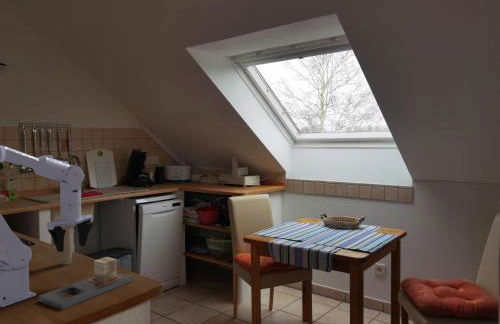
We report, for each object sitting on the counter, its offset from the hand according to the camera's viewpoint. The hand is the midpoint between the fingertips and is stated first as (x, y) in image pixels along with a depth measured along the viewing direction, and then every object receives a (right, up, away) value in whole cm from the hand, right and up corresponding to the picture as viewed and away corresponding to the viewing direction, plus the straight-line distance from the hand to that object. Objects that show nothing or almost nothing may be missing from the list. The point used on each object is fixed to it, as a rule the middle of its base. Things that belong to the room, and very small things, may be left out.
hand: (71, 248), depth 123 cm
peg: (+11, -11, -1) cm, 15 cm away
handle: (-10, -9, +17) cm, 22 cm away
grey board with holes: (+8, -11, -6) cm, 15 cm away
